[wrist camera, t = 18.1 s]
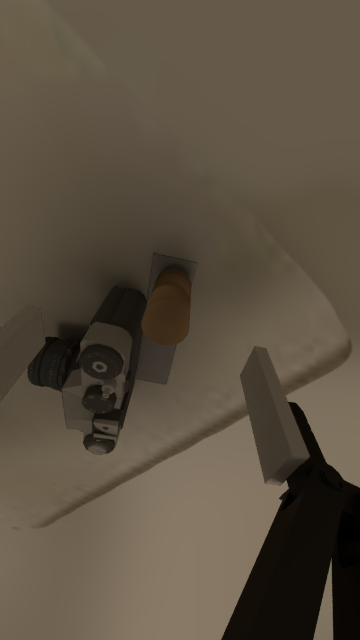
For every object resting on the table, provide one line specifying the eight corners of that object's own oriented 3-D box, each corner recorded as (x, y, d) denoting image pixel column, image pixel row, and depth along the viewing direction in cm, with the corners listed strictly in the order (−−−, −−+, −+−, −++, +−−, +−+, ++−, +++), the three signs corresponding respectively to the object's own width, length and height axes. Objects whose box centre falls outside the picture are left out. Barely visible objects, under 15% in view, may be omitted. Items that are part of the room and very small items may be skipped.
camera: (50, 270, 23) (-31, 333, 15) (152, 292, 24) (129, 364, 16) (61, 377, 32) (15, 453, 24) (136, 391, 33) (115, 469, 25)
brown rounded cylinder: (155, 288, 23) (138, 339, 17) (161, 257, 22) (144, 301, 15) (187, 295, 24) (182, 349, 17) (195, 265, 22) (194, 312, 15)
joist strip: (136, 378, 31) (136, 379, 31) (153, 253, 22) (153, 253, 21) (166, 384, 31) (166, 384, 31) (197, 262, 22) (197, 263, 22)
